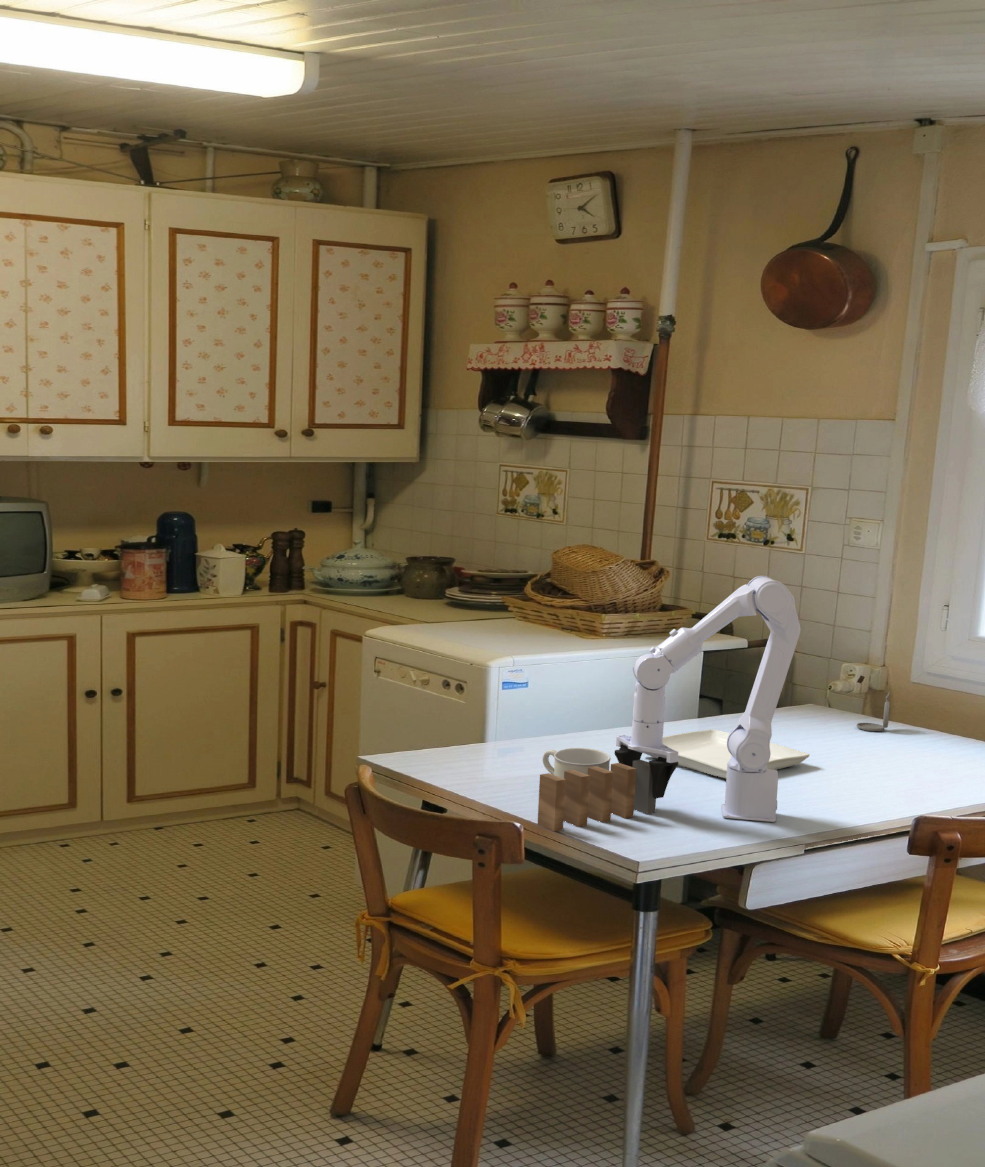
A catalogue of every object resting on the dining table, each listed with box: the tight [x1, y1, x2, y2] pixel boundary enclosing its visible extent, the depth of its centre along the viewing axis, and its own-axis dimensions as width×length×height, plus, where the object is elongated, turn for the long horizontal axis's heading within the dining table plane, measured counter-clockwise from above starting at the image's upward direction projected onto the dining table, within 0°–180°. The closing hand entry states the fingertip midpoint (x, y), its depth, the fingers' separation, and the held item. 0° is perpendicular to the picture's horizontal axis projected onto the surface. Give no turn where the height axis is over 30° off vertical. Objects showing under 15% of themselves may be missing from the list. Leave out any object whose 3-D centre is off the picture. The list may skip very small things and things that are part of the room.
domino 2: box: [563, 770, 590, 828], centre depth 224 cm, size 2×5×9 cm, turn 36°
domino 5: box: [632, 759, 657, 815], centre depth 234 cm, size 2×5×9 cm, turn 36°
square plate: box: [648, 729, 811, 779], centre depth 274 cm, size 27×27×4 cm
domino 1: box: [536, 772, 566, 833], centre depth 221 cm, size 2×5×9 cm, turn 36°
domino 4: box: [610, 762, 636, 819], centre depth 231 cm, size 2×5×9 cm, turn 36°
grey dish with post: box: [856, 691, 891, 732], centre depth 314 cm, size 8×8×10 cm
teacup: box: [542, 747, 611, 779], centre depth 244 cm, size 14×11×8 cm
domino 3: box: [588, 766, 613, 823], centre depth 227 cm, size 2×5×9 cm, turn 36°
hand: (643, 792), depth 234 cm, fingers open, 7 cm apart
